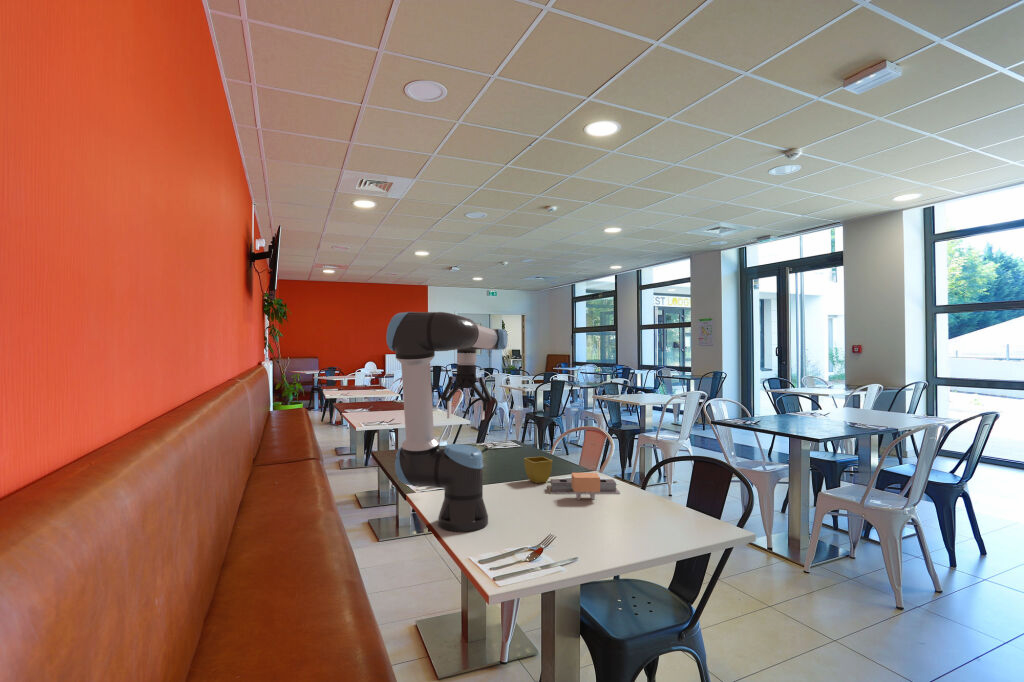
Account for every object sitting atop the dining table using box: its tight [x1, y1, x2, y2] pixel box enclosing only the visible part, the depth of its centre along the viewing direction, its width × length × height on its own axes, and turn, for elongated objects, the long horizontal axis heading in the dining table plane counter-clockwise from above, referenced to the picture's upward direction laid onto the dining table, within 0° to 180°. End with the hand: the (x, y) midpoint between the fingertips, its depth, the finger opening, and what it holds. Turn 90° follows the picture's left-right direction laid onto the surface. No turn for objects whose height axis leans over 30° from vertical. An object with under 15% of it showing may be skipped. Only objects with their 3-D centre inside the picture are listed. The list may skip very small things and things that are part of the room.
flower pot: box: [523, 456, 553, 484], centre depth 207 cm, size 9×9×9 cm
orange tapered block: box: [571, 472, 601, 501], centre depth 185 cm, size 9×7×8 cm
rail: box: [546, 478, 621, 495], centre depth 196 cm, size 10×26×3 cm, turn 92°
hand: (465, 418), depth 202 cm, fingers open, 13 cm apart
